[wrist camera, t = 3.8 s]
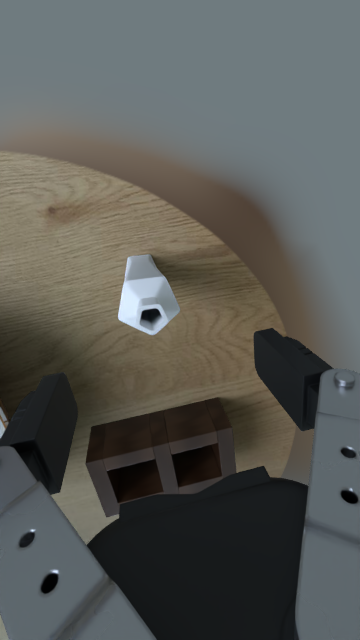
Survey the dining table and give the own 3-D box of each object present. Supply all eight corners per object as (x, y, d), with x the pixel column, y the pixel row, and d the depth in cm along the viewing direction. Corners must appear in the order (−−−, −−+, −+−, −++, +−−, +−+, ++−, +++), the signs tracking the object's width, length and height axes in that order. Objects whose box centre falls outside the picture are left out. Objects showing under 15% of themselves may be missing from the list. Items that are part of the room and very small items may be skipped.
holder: (218, 397, 40) (232, 427, 35) (223, 448, 44) (237, 482, 39) (91, 426, 38) (85, 463, 33) (109, 477, 42) (106, 517, 37)
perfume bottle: (169, 262, 32) (200, 303, 18) (150, 294, 33) (166, 357, 19) (132, 241, 30) (136, 269, 17) (114, 276, 31) (103, 330, 18)
